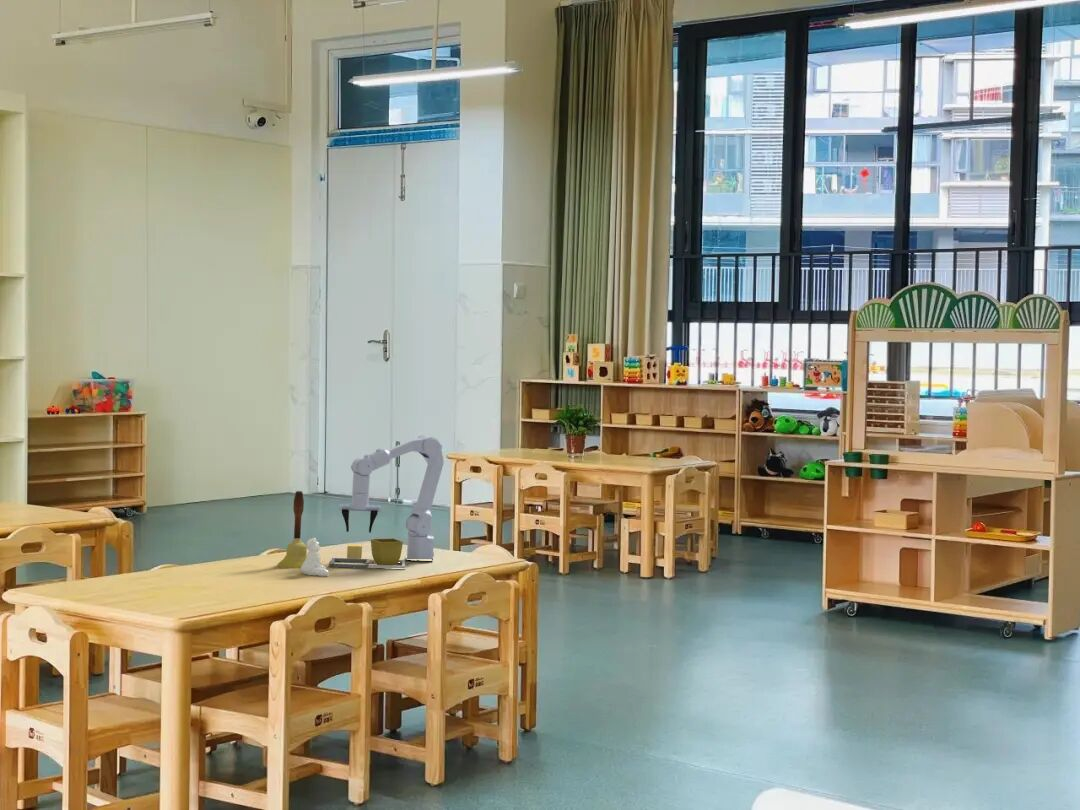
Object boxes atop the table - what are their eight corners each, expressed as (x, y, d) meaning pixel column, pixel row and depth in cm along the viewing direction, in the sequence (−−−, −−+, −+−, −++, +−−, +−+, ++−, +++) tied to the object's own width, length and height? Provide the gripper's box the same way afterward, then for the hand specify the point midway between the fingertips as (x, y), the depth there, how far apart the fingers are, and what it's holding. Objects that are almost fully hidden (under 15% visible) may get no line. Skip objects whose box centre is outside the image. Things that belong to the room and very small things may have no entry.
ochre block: (361, 558, 464) (362, 544, 464) (361, 560, 459) (361, 546, 459) (347, 558, 463) (347, 543, 463) (346, 560, 458) (347, 546, 458)
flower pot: (368, 564, 451) (370, 538, 451) (392, 563, 455) (393, 537, 455) (378, 568, 444) (379, 542, 443) (402, 567, 448) (403, 541, 447)
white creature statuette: (329, 577, 423) (331, 540, 422) (302, 577, 420) (304, 539, 420) (325, 572, 432) (326, 535, 431) (298, 572, 429) (300, 535, 429)
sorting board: (404, 563, 457) (404, 560, 457) (404, 569, 444) (405, 566, 444) (331, 561, 454) (332, 557, 454) (330, 567, 441) (330, 563, 441)
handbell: (287, 561, 450) (290, 488, 449) (320, 564, 446) (323, 491, 445) (270, 566, 438) (274, 491, 437) (304, 569, 434) (307, 494, 434)
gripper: (381, 492, 459) (379, 531, 460) (339, 490, 458) (338, 529, 458) (381, 494, 452) (379, 533, 453) (339, 492, 451) (337, 532, 451)
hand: (358, 531), depth 455 cm, fingers open, 7 cm apart
